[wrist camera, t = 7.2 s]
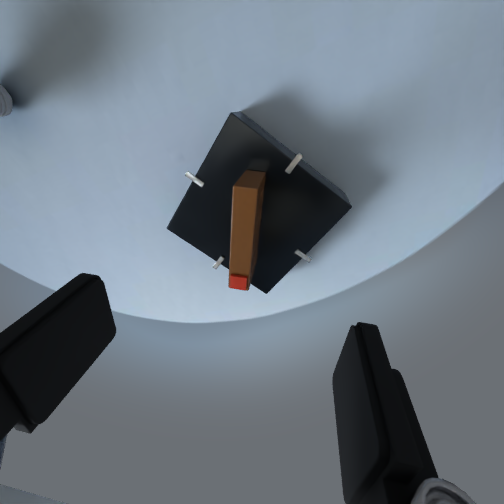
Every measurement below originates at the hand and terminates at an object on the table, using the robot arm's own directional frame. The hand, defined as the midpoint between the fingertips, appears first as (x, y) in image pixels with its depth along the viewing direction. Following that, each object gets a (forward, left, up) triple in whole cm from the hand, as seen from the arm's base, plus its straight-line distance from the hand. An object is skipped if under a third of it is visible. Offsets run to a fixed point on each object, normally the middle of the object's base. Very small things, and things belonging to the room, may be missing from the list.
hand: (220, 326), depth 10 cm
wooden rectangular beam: (0, 0, -11) cm, 11 cm away
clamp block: (0, 0, -14) cm, 14 cm away
